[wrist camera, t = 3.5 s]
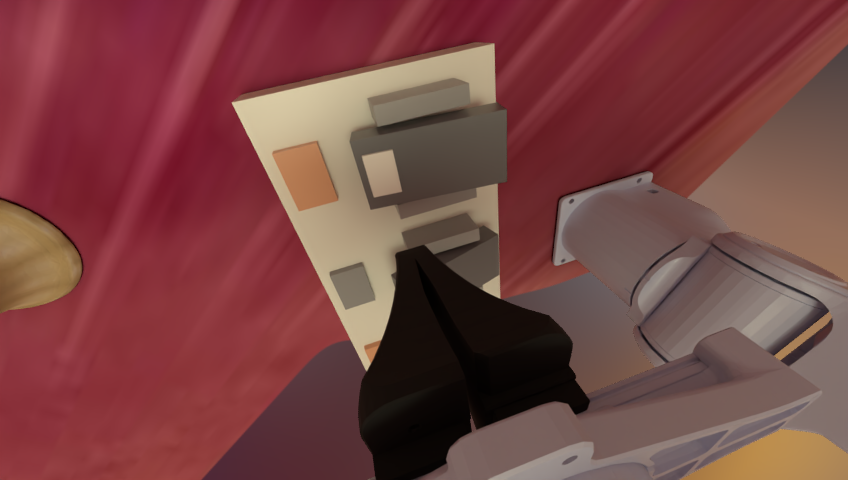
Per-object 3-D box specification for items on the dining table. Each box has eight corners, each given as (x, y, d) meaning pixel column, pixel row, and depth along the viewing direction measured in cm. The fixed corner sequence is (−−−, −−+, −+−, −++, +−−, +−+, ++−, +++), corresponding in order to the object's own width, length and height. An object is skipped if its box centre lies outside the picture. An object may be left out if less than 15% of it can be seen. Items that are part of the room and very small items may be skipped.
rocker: (496, 102, 17) (507, 110, 15) (498, 170, 19) (507, 182, 18) (351, 132, 17) (349, 142, 15) (370, 197, 19) (370, 211, 18)
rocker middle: (483, 225, 23) (499, 235, 22) (485, 264, 26) (500, 275, 24) (390, 274, 21) (403, 289, 19) (402, 313, 23) (414, 329, 22)
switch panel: (475, 42, 19) (514, 45, 15) (490, 321, 35) (511, 356, 31) (241, 94, 17) (220, 112, 13) (370, 363, 33) (376, 406, 29)
